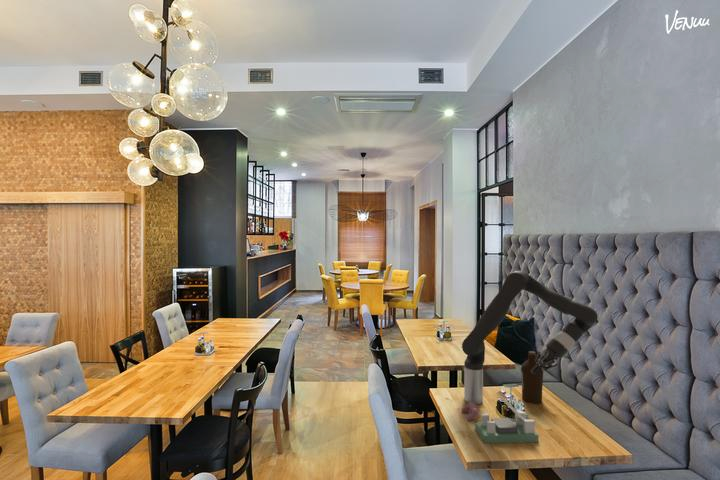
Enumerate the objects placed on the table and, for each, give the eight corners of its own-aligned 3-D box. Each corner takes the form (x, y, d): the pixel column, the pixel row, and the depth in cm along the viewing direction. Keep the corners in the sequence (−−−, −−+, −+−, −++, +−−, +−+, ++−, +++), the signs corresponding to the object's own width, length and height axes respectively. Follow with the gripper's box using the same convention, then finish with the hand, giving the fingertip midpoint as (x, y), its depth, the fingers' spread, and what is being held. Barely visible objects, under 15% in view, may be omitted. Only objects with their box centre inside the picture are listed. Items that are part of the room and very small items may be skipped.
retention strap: (495, 394, 159) (499, 389, 159) (522, 421, 159) (526, 417, 159) (499, 398, 154) (504, 394, 154) (527, 426, 154) (531, 422, 155)
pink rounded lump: (475, 424, 169) (481, 411, 169) (466, 420, 169) (473, 406, 169) (468, 414, 179) (475, 401, 179) (460, 410, 179) (466, 397, 179)
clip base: (475, 429, 162) (475, 411, 162) (525, 428, 163) (525, 410, 163) (484, 442, 151) (484, 423, 151) (538, 442, 152) (538, 422, 152)
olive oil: (544, 398, 193) (544, 351, 194) (541, 406, 185) (541, 356, 185) (523, 393, 200) (523, 347, 200) (518, 400, 191) (519, 352, 191)
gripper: (546, 334, 164) (519, 361, 164) (563, 342, 151) (534, 372, 150) (557, 346, 164) (530, 373, 164) (576, 355, 151) (547, 385, 151)
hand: (532, 373), depth 157 cm, fingers closed
